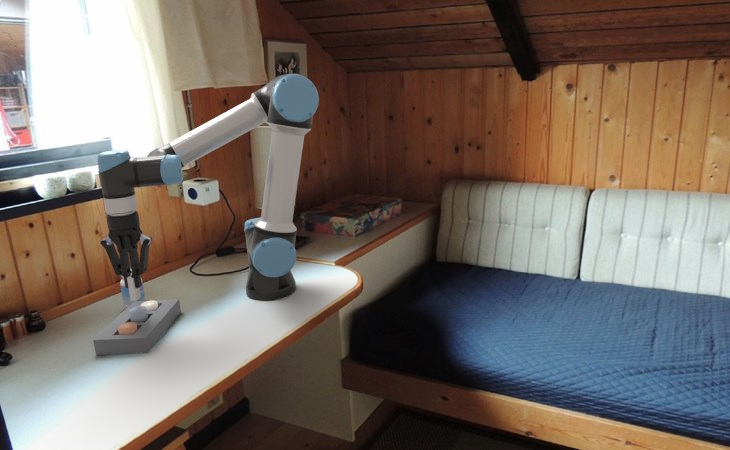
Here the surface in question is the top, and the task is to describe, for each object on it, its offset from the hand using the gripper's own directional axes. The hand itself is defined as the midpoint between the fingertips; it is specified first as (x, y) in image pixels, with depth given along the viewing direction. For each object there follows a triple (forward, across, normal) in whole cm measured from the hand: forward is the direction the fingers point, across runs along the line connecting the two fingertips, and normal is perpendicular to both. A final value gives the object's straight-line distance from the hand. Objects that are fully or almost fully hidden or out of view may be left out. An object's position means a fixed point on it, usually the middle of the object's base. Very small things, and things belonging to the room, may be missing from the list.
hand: (135, 299), depth 151 cm
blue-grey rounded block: (+6, -1, +1) cm, 7 cm away
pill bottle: (+9, +9, -16) cm, 20 cm away
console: (+9, -1, +1) cm, 9 cm away
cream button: (+8, -1, -6) cm, 10 cm away
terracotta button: (+8, -1, +8) cm, 11 cm away
